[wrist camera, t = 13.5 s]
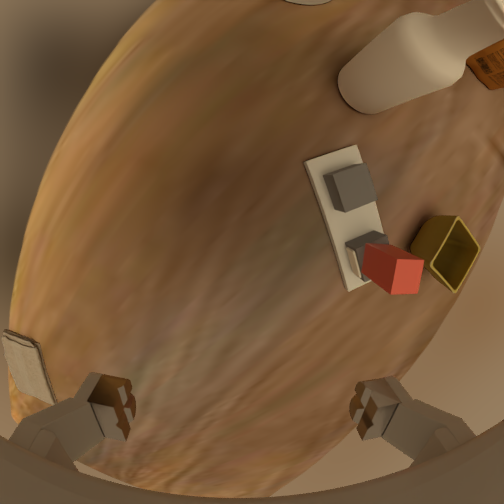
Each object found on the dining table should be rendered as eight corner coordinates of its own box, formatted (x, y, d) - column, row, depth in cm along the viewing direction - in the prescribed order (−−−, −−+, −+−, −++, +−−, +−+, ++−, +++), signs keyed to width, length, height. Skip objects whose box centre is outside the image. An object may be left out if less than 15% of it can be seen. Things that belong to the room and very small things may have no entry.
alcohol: (394, 90, 35) (542, 33, 6) (371, 126, 36) (542, 83, 7) (352, 54, 33) (475, -47, 4) (325, 89, 35) (463, -22, 6)
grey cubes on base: (303, 162, 37) (314, 159, 32) (352, 145, 37) (369, 141, 32) (345, 288, 42) (359, 302, 37) (387, 268, 42) (405, 279, 36)
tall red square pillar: (361, 272, 36) (390, 294, 28) (365, 242, 35) (397, 259, 27) (385, 272, 36) (417, 293, 28) (390, 244, 35) (424, 260, 27)
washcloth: (40, 338, 41) (33, 346, 38) (60, 402, 46) (55, 410, 43) (4, 325, 40) (-4, 331, 37) (24, 387, 44) (18, 394, 42)
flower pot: (448, 237, 41) (482, 248, 33) (424, 277, 43) (455, 294, 34) (422, 207, 40) (458, 214, 31) (396, 250, 41) (429, 265, 32)
